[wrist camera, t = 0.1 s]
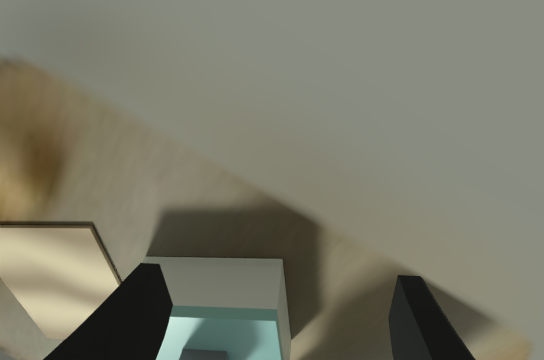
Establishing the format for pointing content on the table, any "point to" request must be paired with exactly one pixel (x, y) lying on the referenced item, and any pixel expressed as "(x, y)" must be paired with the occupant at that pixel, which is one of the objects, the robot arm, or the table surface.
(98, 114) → the table surface
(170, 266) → the storage box
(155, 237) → the table surface
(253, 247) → the table surface
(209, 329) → the lid
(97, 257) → the cork mat
